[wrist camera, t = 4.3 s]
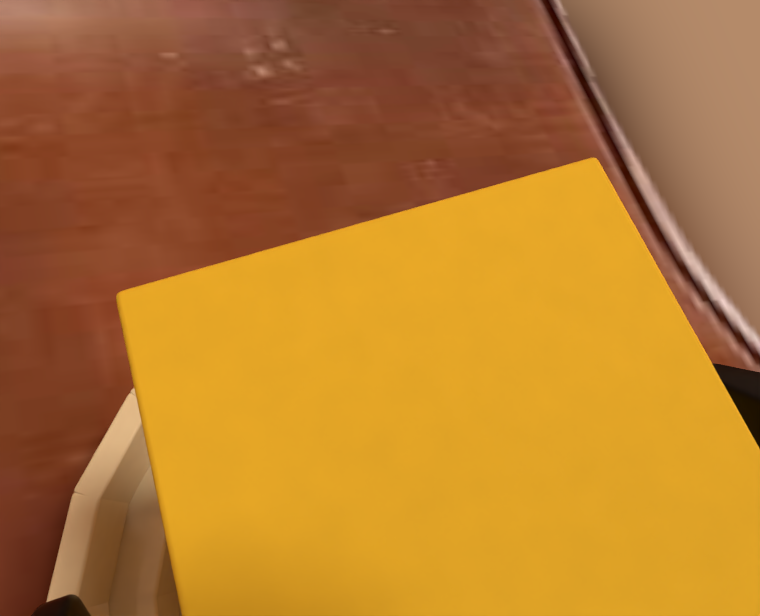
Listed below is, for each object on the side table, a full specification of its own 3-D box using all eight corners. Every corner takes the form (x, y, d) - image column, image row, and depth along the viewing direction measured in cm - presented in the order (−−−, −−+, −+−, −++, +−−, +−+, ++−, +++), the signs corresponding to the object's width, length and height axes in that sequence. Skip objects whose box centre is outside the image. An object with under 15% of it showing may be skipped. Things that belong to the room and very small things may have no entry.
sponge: (537, 682, 14) (1166, 1163, 3) (360, 759, 14) (405, 1701, 3) (433, 411, 17) (598, 152, 6) (278, 464, 16) (111, 290, 5)
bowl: (762, 530, 16) (883, 527, 13) (450, 1107, 12) (495, 1361, 8) (367, 229, 19) (371, 154, 16) (-1, 608, 15) (-118, 630, 11)
